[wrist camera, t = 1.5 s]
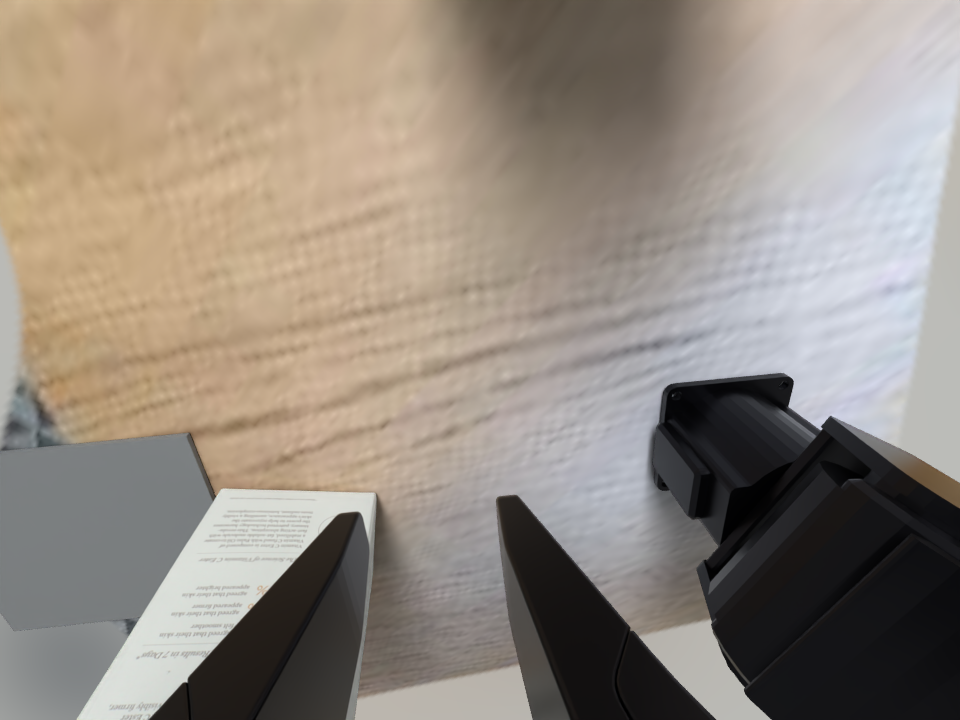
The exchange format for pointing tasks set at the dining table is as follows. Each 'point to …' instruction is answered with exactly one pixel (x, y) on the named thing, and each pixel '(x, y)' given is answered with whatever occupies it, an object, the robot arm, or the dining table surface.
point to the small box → (220, 591)
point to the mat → (95, 527)
